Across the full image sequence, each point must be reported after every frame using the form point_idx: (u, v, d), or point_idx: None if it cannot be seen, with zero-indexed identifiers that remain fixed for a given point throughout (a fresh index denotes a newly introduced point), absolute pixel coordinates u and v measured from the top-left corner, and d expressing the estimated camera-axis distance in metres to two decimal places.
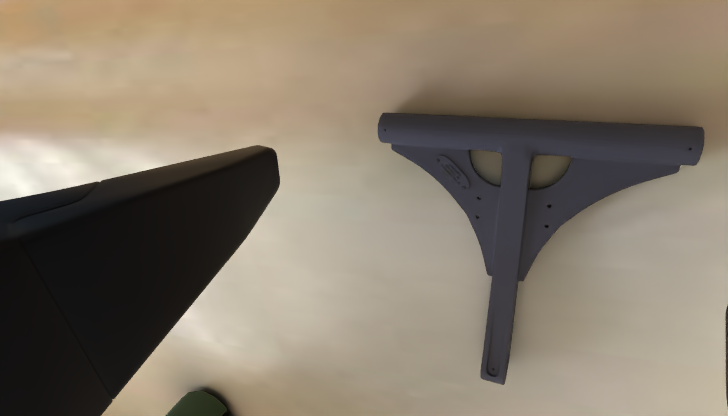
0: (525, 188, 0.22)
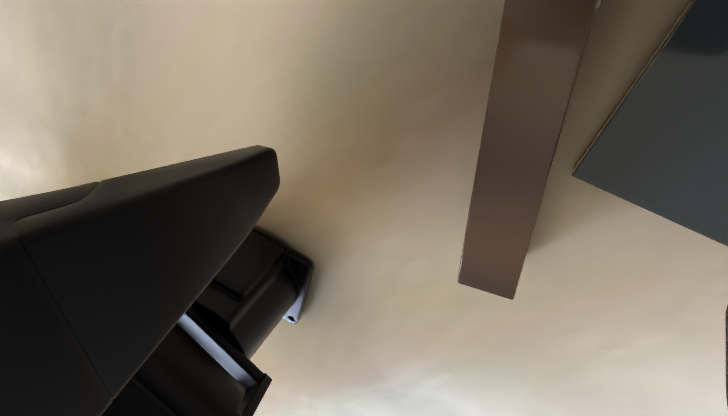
0: None
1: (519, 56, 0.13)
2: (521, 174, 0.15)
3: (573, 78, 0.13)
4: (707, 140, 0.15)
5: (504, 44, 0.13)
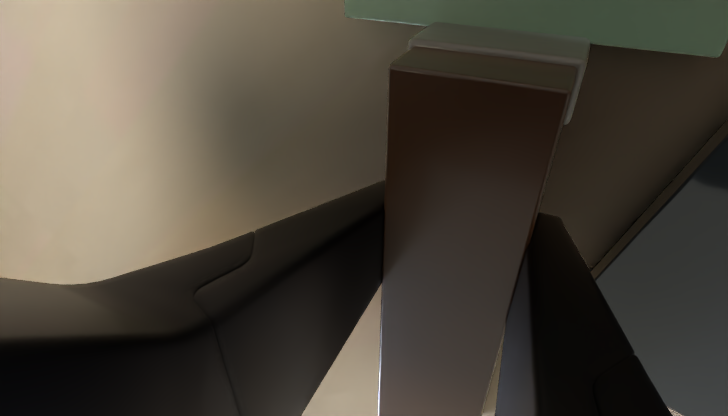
0: None
1: (423, 204, 0.07)
2: (448, 370, 0.09)
3: (522, 252, 0.07)
4: None
5: (395, 182, 0.07)
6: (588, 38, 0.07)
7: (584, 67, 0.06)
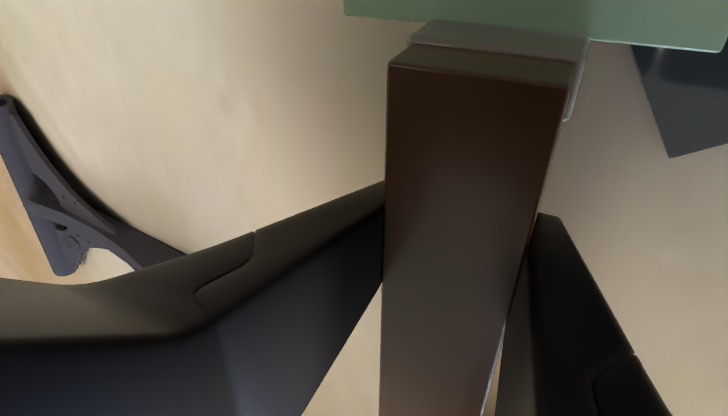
0: (50, 209, 0.29)
1: (423, 202, 0.07)
2: (449, 369, 0.09)
3: (523, 249, 0.07)
4: None
5: (395, 179, 0.07)
6: (588, 34, 0.07)
7: (584, 63, 0.06)
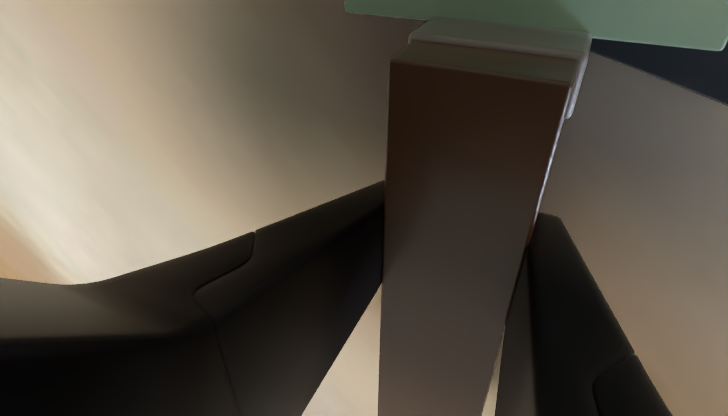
0: None
1: (424, 200, 0.07)
2: (449, 368, 0.09)
3: (523, 248, 0.07)
4: None
5: (396, 177, 0.07)
6: (590, 32, 0.07)
7: (586, 61, 0.06)
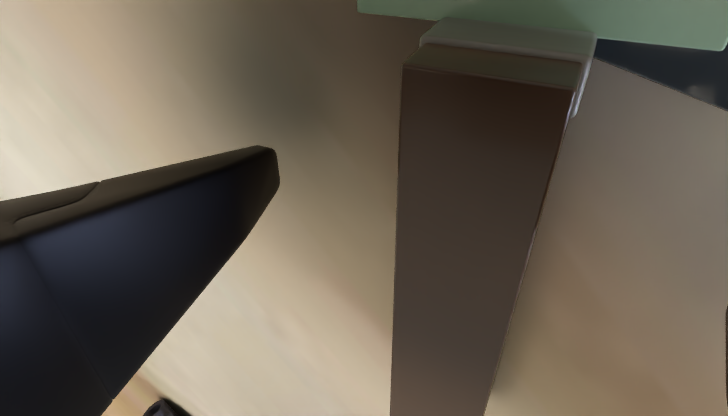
0: None
1: (435, 195, 0.07)
2: (458, 352, 0.10)
3: (529, 240, 0.07)
4: None
5: (408, 174, 0.07)
6: (595, 32, 0.07)
7: (590, 63, 0.06)
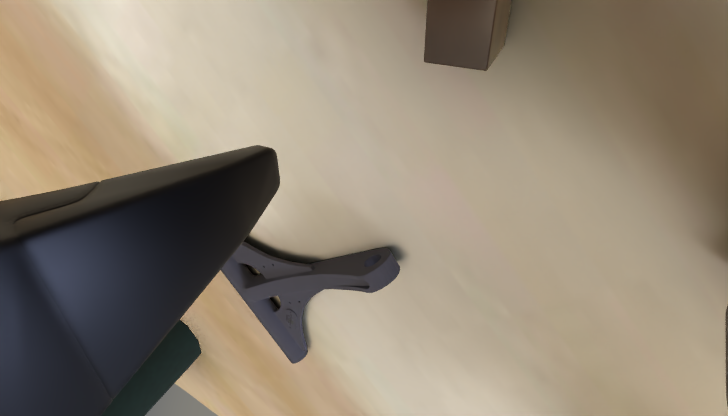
0: (260, 285, 0.32)
1: None
2: None
3: None
4: None
5: None
6: None
7: None
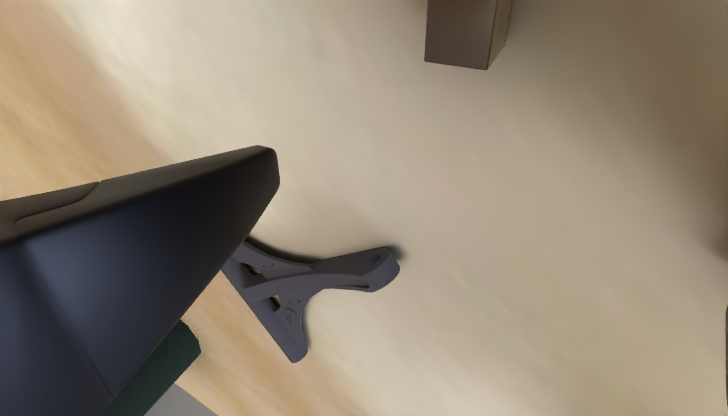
0: (260, 285, 0.32)
1: None
2: None
3: None
4: None
5: None
6: None
7: None
